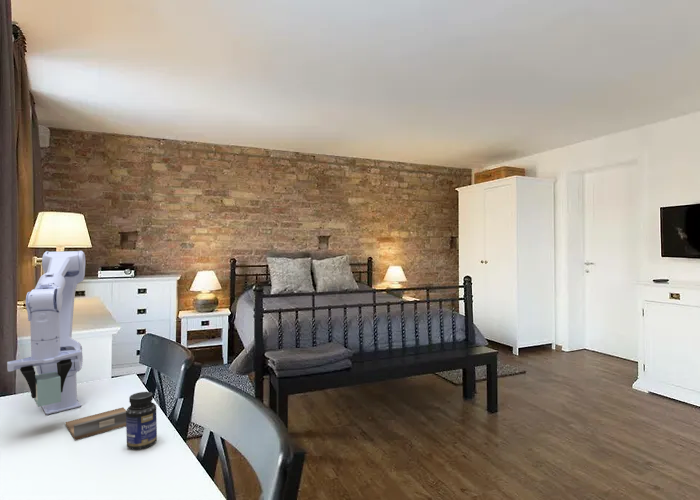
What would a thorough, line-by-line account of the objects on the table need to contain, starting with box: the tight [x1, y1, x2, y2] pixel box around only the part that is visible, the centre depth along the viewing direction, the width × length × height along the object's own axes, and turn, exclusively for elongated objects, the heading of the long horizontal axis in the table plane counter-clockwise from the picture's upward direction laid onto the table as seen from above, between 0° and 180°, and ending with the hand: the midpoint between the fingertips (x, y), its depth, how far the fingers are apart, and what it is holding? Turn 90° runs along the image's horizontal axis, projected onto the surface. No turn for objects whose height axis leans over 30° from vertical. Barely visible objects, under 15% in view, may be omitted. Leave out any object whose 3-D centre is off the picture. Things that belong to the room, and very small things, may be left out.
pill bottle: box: [125, 391, 158, 451], centre depth 95 cm, size 6×6×11 cm
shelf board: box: [65, 407, 127, 441], centre depth 105 cm, size 11×13×3 cm
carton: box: [33, 371, 61, 408], centre depth 102 cm, size 5×6×6 cm
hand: (47, 394), depth 102 cm, fingers closed on carton, 5 cm apart
